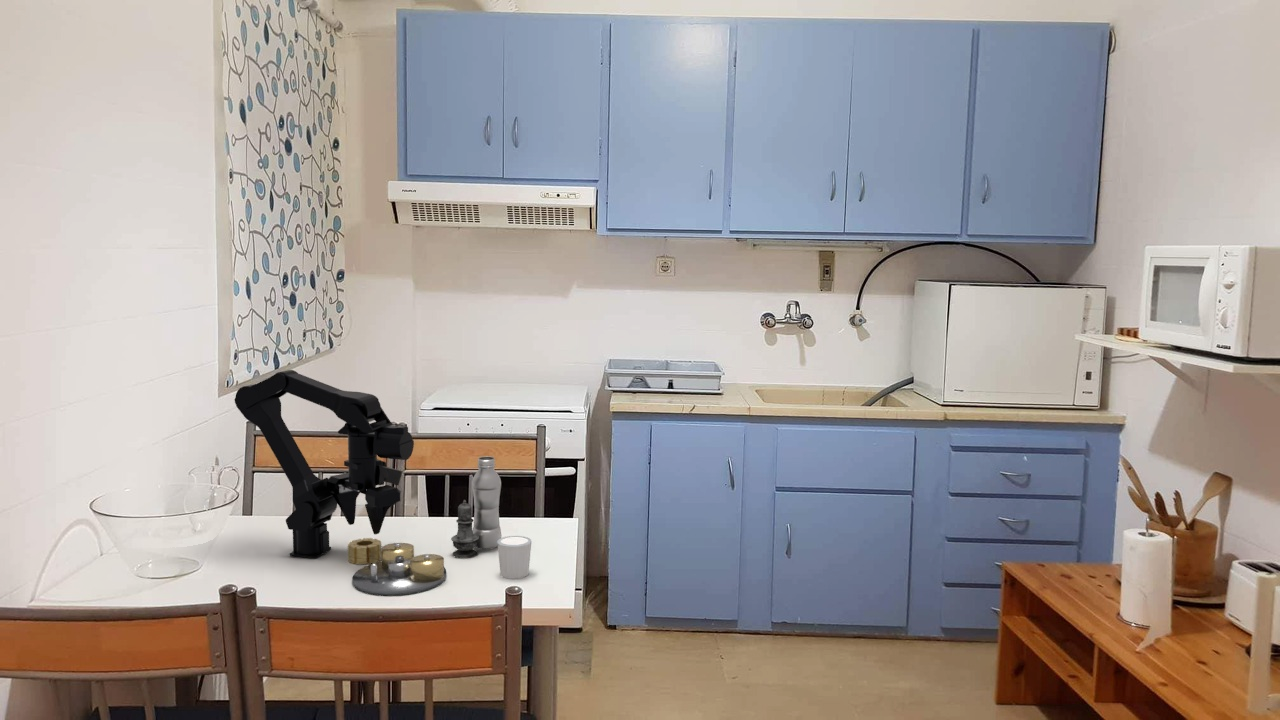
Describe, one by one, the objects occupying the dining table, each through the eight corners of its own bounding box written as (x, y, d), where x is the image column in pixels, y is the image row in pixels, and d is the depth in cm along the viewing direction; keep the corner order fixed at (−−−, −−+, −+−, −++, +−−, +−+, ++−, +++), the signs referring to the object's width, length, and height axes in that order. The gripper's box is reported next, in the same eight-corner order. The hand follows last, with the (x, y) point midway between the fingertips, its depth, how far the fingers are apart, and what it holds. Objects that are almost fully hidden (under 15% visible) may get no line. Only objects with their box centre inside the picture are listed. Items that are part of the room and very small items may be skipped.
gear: (343, 559, 198) (342, 543, 198) (369, 552, 203) (369, 536, 202) (360, 566, 194) (360, 550, 193) (387, 559, 199) (386, 543, 198)
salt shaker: (473, 559, 199) (472, 504, 198) (446, 557, 200) (446, 502, 199) (483, 550, 205) (482, 496, 203) (457, 548, 206) (457, 494, 205)
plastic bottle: (498, 541, 211) (498, 454, 209) (504, 551, 205) (504, 461, 202) (469, 544, 209) (469, 455, 207) (474, 554, 203) (473, 462, 200)
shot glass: (493, 570, 193) (493, 537, 192) (526, 566, 196) (526, 533, 195) (502, 581, 187) (502, 547, 186) (535, 577, 190) (535, 543, 189)
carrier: (335, 591, 180) (334, 564, 180) (378, 560, 198) (377, 535, 197) (424, 599, 177) (423, 572, 176) (460, 567, 195) (459, 542, 194)
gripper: (422, 457, 196) (423, 530, 198) (370, 442, 208) (371, 512, 210) (375, 466, 187) (376, 542, 189) (324, 450, 199) (326, 522, 201)
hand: (363, 529), depth 198 cm, fingers open, 9 cm apart
